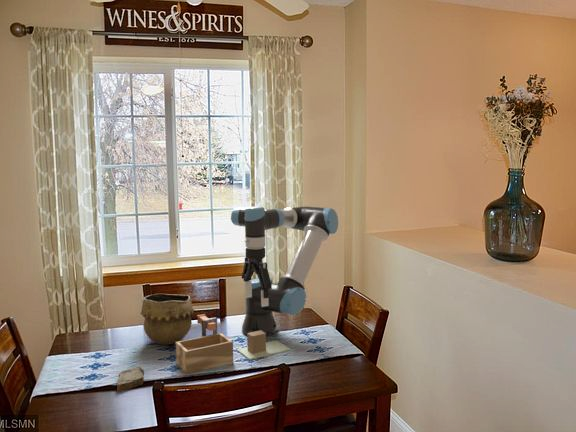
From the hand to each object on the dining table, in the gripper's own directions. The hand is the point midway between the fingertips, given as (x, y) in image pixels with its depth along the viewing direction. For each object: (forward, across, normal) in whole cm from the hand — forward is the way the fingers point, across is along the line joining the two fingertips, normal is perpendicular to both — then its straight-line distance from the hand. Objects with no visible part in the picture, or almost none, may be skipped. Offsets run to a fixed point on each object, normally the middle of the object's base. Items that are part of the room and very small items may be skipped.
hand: (256, 301), depth 190 cm
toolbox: (+20, -1, -22) cm, 29 cm away
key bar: (+11, -13, -15) cm, 23 cm away
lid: (+20, 0, +3) cm, 21 cm away
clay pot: (+20, -28, -26) cm, 43 cm away
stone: (+20, 0, -49) cm, 53 cm away
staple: (+20, -10, -16) cm, 27 cm away
